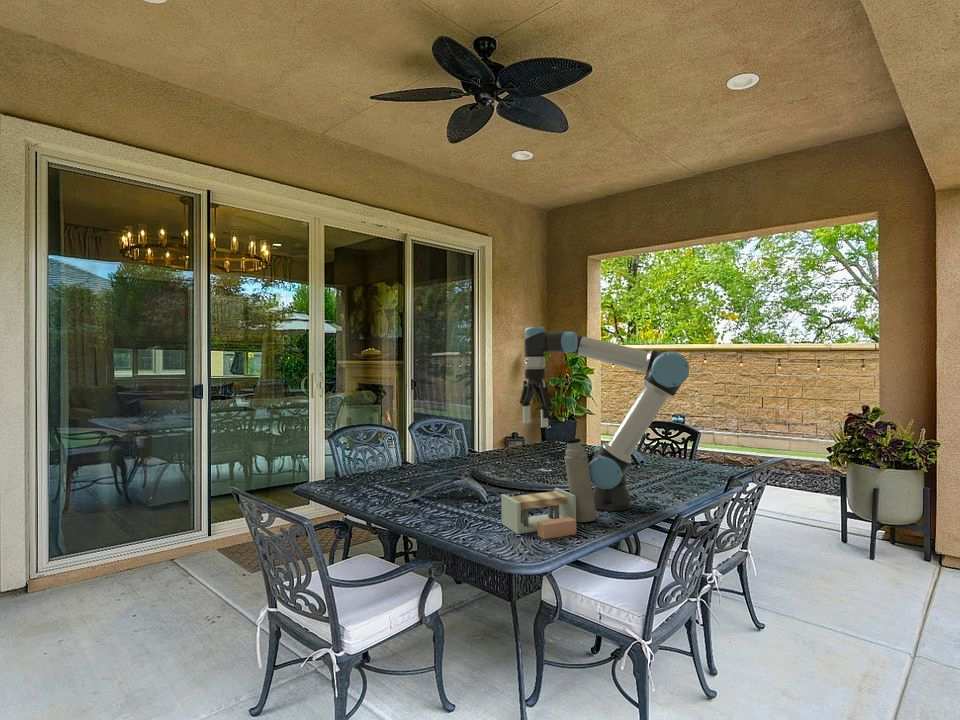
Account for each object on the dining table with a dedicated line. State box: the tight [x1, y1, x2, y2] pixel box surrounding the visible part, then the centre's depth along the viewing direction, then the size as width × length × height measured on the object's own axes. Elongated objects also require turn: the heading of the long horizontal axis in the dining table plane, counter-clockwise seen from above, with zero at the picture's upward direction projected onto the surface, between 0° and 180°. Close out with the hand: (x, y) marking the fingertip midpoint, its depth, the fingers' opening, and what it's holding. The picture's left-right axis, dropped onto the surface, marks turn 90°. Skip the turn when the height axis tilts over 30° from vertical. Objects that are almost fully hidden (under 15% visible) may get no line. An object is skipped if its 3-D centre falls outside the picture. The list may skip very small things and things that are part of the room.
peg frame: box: [500, 487, 576, 535], centre depth 186 cm, size 22×12×10 cm, turn 113°
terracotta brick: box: [537, 517, 577, 540], centre depth 175 cm, size 12×4×4 cm, turn 113°
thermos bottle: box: [563, 438, 598, 523], centre depth 190 cm, size 8×8×28 cm
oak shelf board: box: [509, 490, 567, 510], centre depth 186 cm, size 18×8×2 cm, turn 113°
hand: (535, 425), depth 203 cm, fingers open, 13 cm apart
